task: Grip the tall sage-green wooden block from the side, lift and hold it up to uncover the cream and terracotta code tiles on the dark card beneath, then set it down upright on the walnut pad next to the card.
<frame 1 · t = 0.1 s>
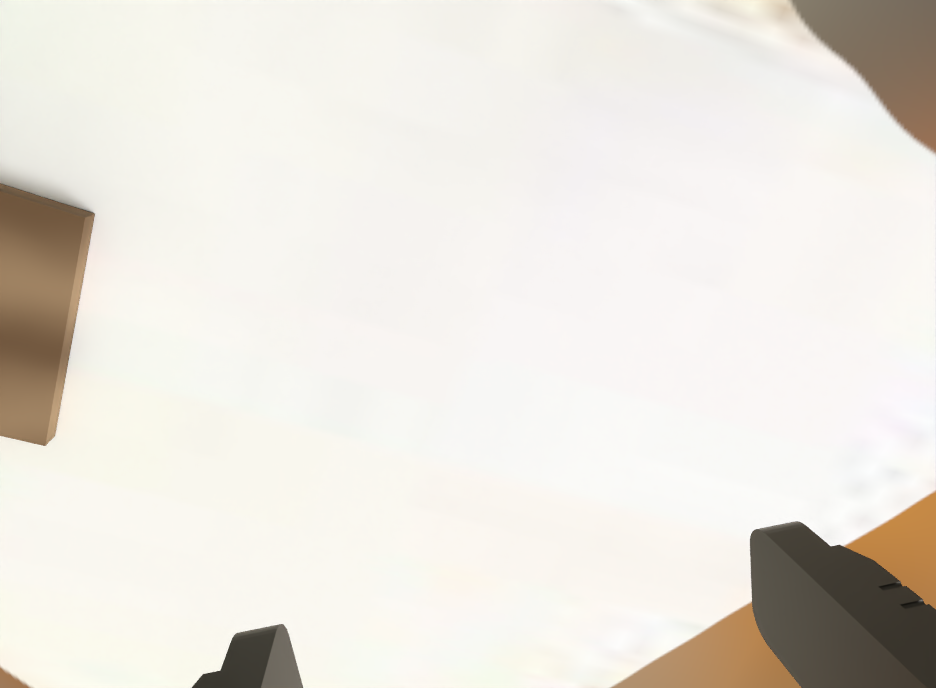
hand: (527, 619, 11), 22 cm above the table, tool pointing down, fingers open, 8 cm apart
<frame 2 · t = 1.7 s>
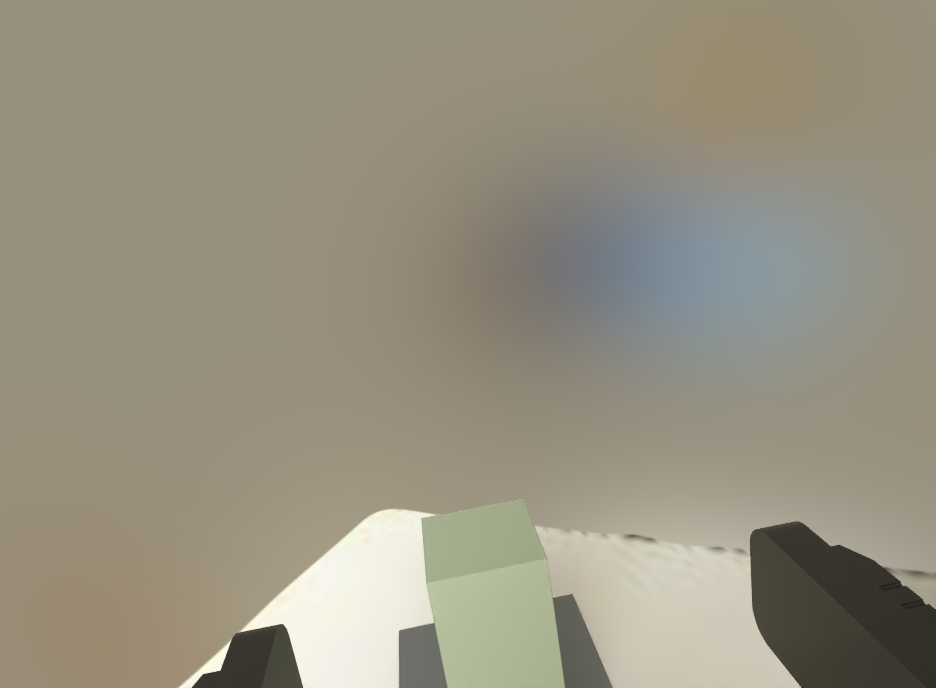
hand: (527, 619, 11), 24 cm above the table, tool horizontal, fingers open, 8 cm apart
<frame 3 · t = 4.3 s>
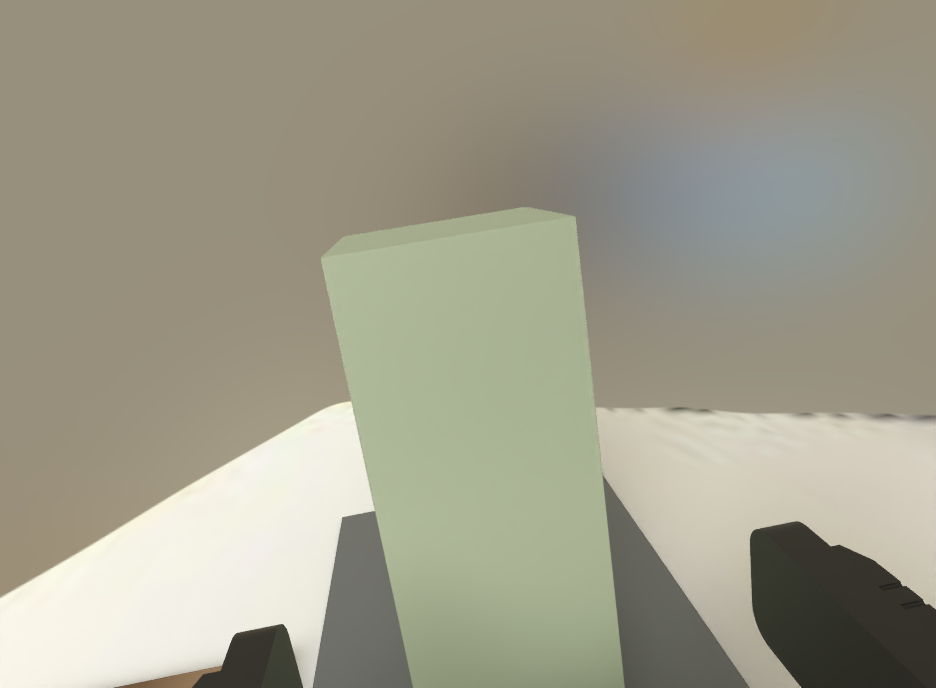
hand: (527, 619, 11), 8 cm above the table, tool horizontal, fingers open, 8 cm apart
sage block: (513, 674, 20), resting on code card
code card: (497, 605, 23), on the table
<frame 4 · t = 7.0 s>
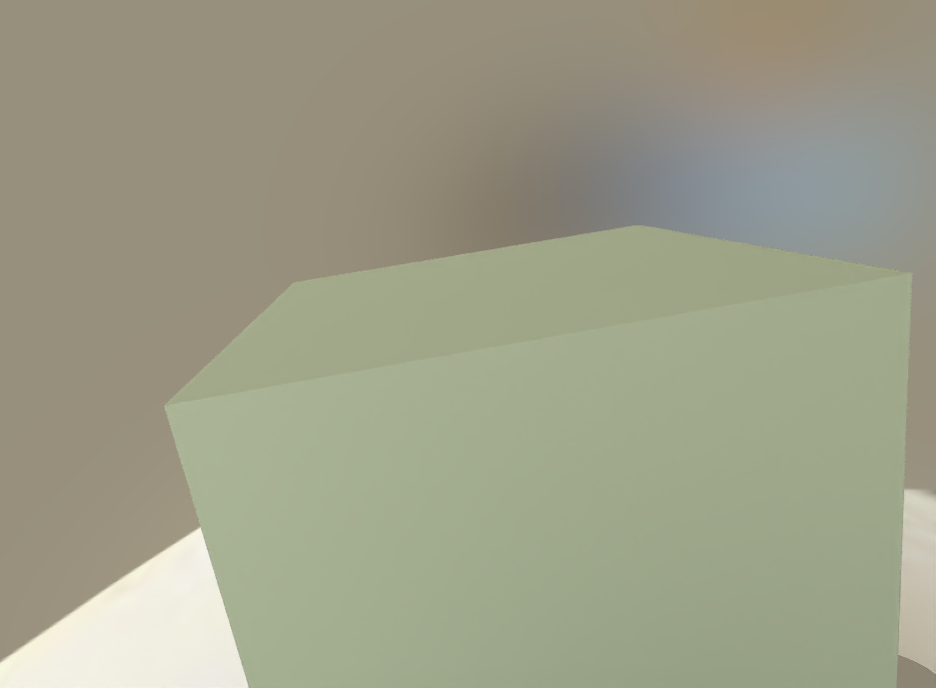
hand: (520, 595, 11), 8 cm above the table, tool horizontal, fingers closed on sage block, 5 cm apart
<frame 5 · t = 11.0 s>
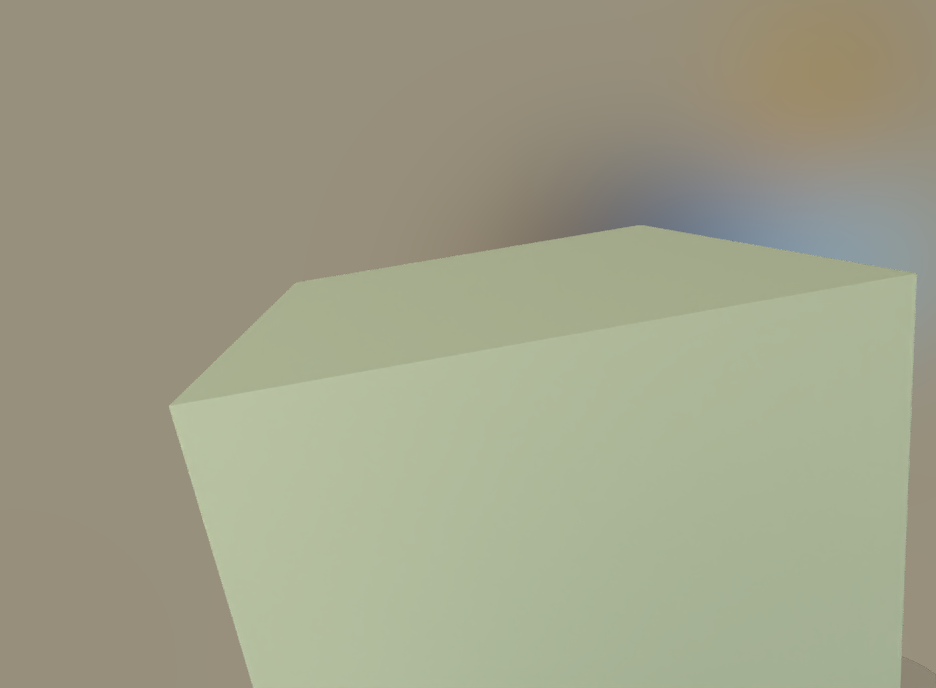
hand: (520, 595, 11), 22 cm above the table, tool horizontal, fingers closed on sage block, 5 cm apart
when the fingers open (10 cm above the table, at t = 15.4 s): sage block drops 1 cm, resting on walnut pad.
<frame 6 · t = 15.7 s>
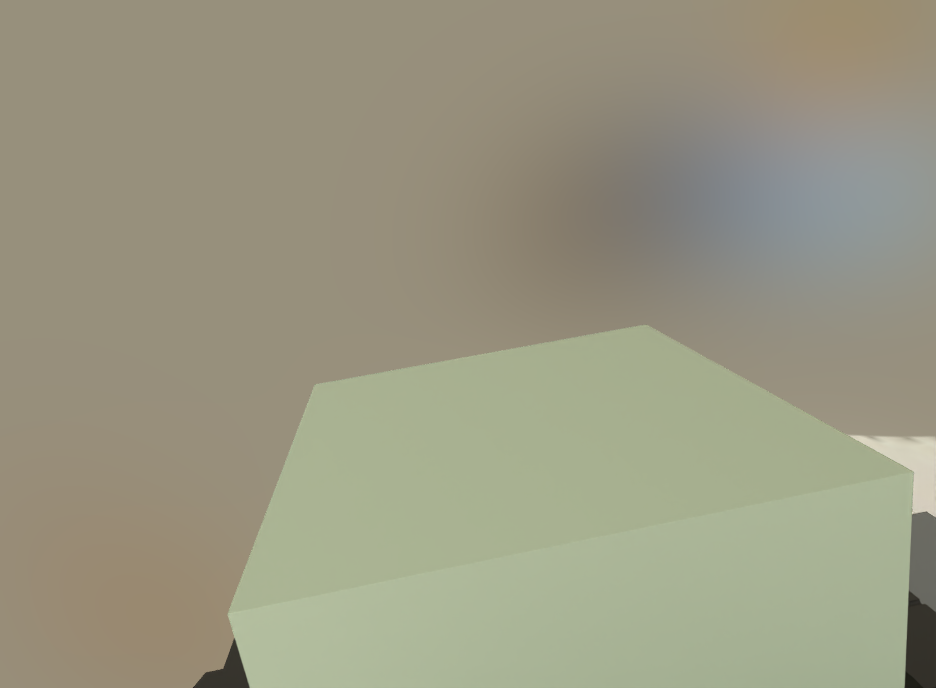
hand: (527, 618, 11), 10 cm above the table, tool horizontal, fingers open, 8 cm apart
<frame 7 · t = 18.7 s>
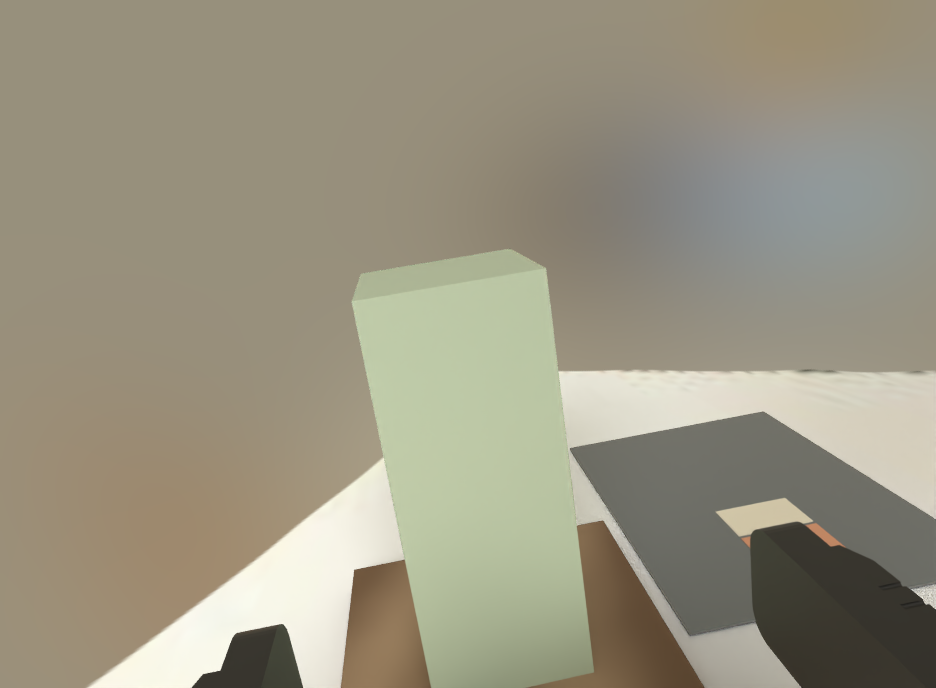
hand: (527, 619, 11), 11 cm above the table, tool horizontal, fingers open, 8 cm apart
sage block: (501, 633, 24), point 1 cm above the table, touching walnut pad
walnut pad: (503, 654, 24), on the table
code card: (736, 494, 32), on the table
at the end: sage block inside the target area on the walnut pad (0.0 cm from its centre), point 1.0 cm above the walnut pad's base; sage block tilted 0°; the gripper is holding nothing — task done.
